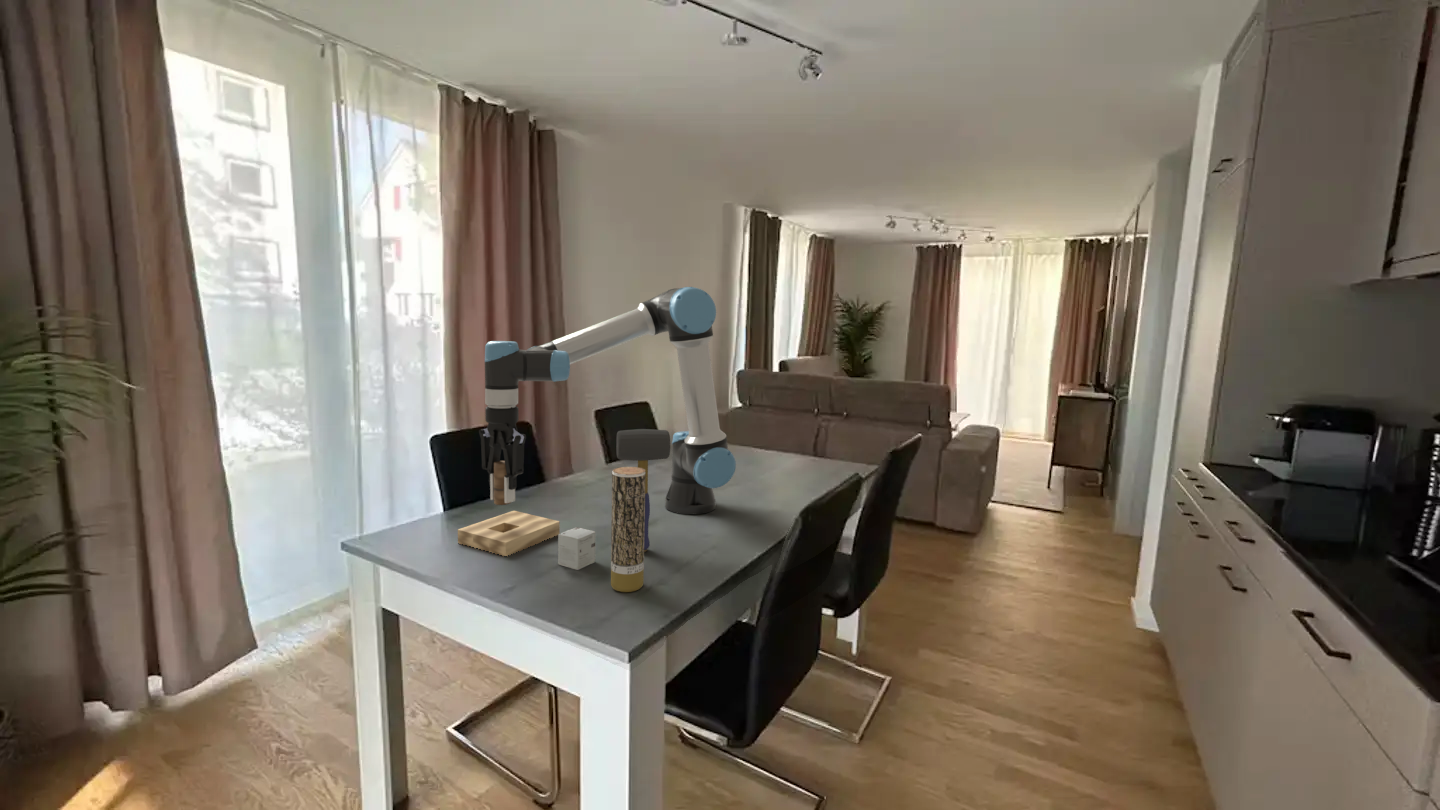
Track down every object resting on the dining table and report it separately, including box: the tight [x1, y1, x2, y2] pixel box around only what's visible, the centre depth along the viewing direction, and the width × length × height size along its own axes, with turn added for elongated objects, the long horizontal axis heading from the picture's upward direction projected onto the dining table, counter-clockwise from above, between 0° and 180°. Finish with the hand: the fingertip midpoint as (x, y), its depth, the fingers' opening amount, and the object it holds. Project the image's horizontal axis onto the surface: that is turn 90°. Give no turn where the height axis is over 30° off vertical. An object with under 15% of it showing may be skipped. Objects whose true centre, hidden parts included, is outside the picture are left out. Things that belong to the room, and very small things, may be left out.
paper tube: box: [610, 466, 646, 593], centre depth 129 cm, size 7×7×25 cm
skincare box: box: [557, 526, 596, 571], centre depth 142 cm, size 6×6×7 cm
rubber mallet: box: [615, 428, 671, 553], centre depth 149 cm, size 12×8×30 cm, turn 104°
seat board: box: [457, 510, 561, 557], centre depth 156 cm, size 16×18×4 cm
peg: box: [493, 460, 512, 506], centre depth 152 cm, size 4×4×10 cm
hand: (502, 500), depth 153 cm, fingers closed on peg, 4 cm apart
